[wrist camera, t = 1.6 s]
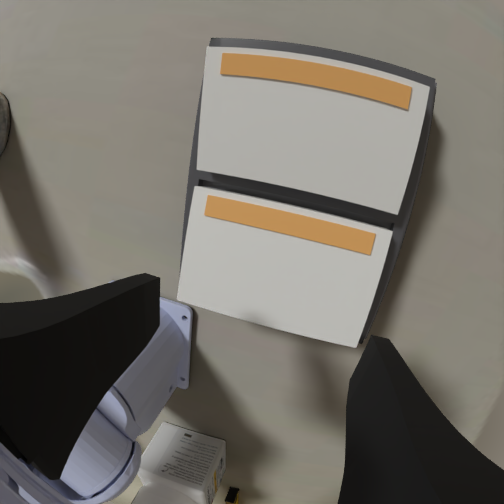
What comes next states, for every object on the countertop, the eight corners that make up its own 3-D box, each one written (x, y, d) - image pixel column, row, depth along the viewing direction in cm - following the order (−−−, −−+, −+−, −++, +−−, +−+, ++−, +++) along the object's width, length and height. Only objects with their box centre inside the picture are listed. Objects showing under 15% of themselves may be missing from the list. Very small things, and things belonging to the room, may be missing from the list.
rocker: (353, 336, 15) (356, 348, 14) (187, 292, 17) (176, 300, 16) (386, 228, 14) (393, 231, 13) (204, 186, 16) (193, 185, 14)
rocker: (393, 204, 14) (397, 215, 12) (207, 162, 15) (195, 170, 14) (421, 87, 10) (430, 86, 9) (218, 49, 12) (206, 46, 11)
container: (226, 468, 31) (192, 549, 19) (171, 451, 33) (129, 523, 21) (226, 439, 28) (184, 536, 17) (162, 419, 30) (109, 503, 18)
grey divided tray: (362, 313, 20) (366, 344, 16) (197, 271, 22) (174, 293, 18) (420, 91, 14) (440, 81, 11) (227, 54, 16) (205, 37, 13)
